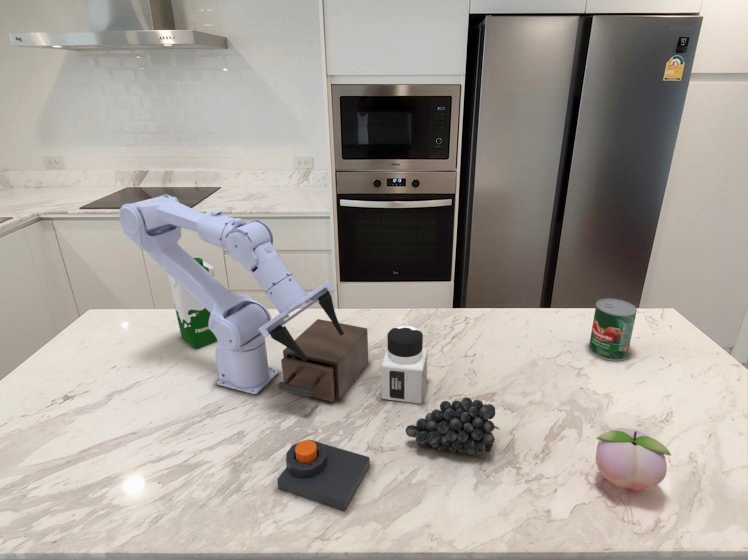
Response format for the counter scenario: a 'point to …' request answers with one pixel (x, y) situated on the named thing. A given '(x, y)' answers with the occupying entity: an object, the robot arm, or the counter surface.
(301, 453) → the button
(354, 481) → the button block
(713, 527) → the counter surface
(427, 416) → the fruit
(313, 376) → the drawer
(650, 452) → the decorative fruit
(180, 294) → the milk carton
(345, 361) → the cabinet
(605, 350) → the canned tomato
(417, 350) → the container
